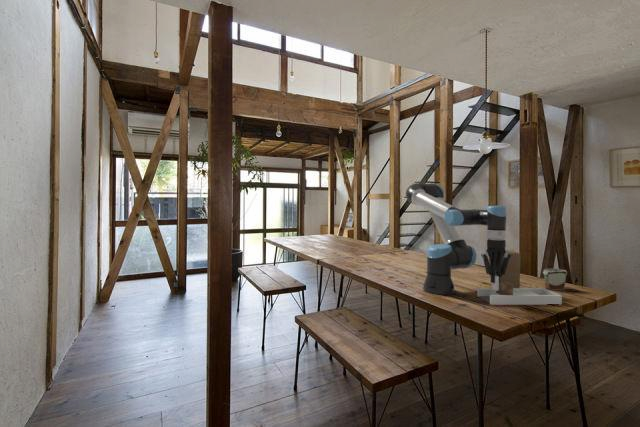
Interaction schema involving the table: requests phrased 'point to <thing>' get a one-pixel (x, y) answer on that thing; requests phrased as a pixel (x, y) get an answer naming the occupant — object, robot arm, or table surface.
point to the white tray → (520, 297)
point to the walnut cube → (505, 288)
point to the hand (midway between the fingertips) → (495, 289)
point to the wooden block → (512, 269)
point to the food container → (555, 279)
